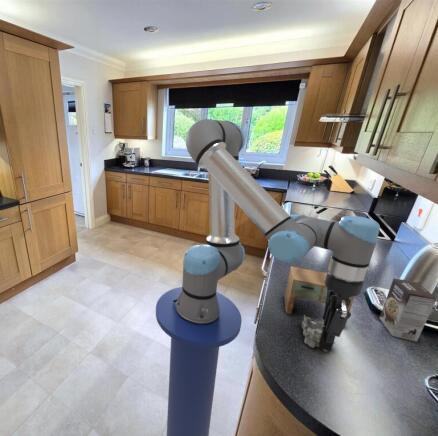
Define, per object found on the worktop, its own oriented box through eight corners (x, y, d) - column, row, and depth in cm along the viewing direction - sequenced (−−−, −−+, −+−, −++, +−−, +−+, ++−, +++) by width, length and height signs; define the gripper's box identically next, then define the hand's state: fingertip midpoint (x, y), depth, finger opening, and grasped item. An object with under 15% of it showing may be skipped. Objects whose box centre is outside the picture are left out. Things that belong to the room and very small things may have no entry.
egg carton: (300, 323, 82) (303, 313, 81) (327, 331, 79) (330, 320, 77) (302, 345, 73) (305, 334, 72) (333, 355, 70) (336, 343, 68)
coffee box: (378, 318, 85) (392, 277, 80) (401, 322, 82) (418, 281, 78) (391, 336, 77) (408, 292, 72) (418, 342, 74) (438, 297, 69)
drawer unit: (286, 313, 87) (293, 279, 82) (284, 297, 95) (290, 266, 91) (344, 328, 80) (356, 292, 75) (336, 310, 88) (346, 276, 84)
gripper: (373, 292, 56) (347, 371, 63) (355, 267, 67) (335, 336, 74) (333, 284, 59) (312, 360, 66) (322, 262, 70) (306, 328, 77)
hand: (324, 347), depth 70 cm, fingers closed
